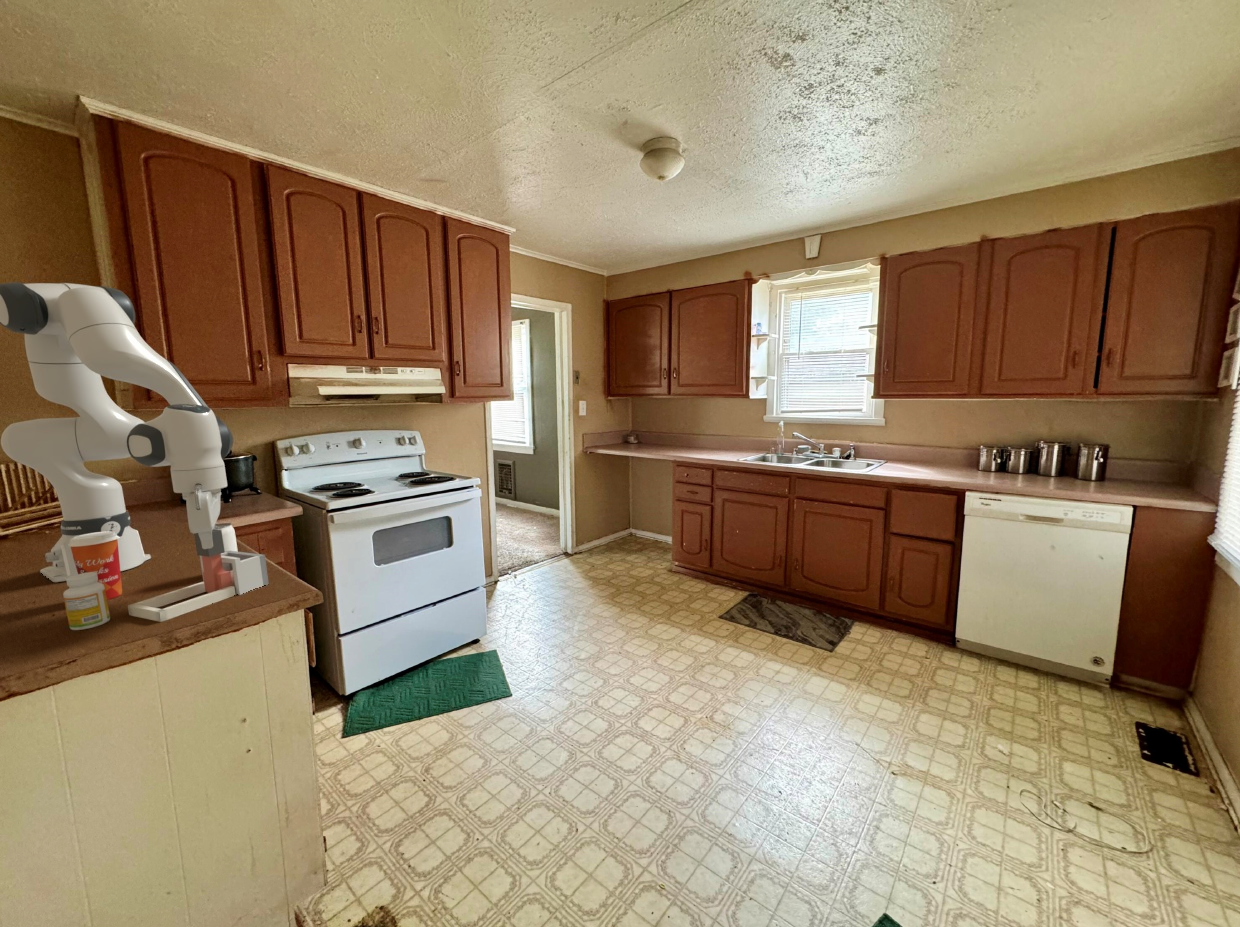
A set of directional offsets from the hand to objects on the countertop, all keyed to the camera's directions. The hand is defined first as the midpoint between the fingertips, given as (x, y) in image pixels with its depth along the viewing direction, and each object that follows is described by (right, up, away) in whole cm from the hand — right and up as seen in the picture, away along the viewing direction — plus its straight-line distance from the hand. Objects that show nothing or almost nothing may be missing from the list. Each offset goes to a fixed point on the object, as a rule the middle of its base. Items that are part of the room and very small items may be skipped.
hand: (209, 544), depth 108 cm
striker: (0, -11, +1) cm, 11 cm away
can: (-8, -10, +15) cm, 20 cm away
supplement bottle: (-13, -14, -12) cm, 22 cm away
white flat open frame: (-2, -12, -4) cm, 13 cm away
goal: (+2, -11, +5) cm, 12 cm away
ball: (+2, -9, +5) cm, 10 cm away
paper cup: (-24, -12, +2) cm, 27 cm away
